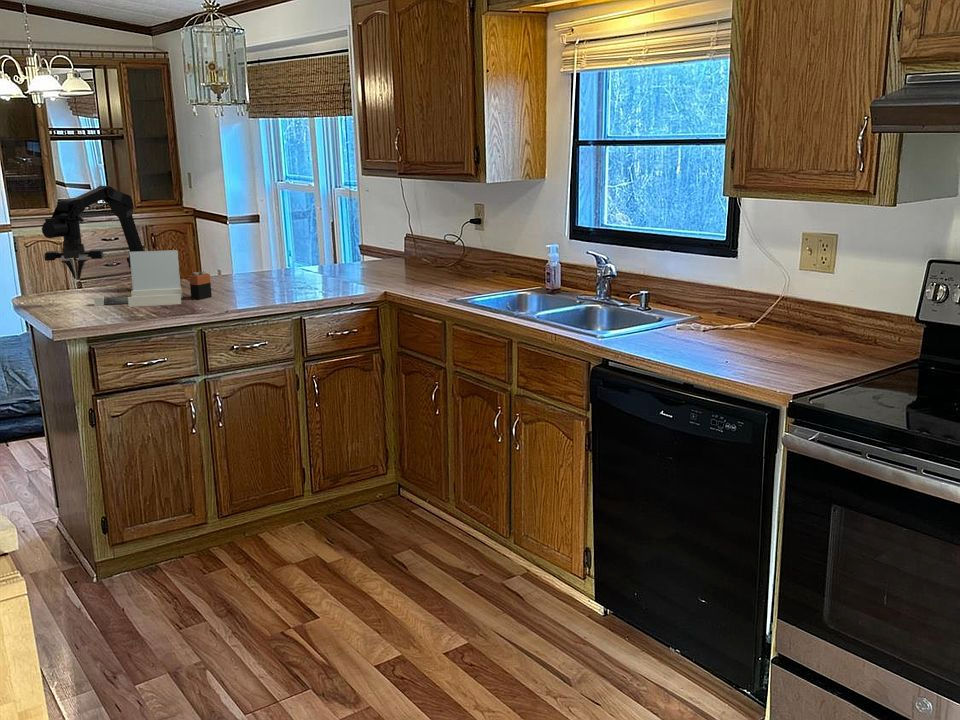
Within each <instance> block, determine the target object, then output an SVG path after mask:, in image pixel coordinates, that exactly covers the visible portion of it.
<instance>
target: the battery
mask: <svg viewBox="0 0 960 720" xmlns="http://www.w3.org/2000/svg"><path fill="white" fill-rule="evenodd" d="M188 278H189V289H190V299H191V300H204V299H209V298H211V297H212V285H211V283H212V282H211V274H210V273H206V272H205V271H200V272H198V271H197V272H193V273H192V274H190V275H189V277H188Z"/></svg>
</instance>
